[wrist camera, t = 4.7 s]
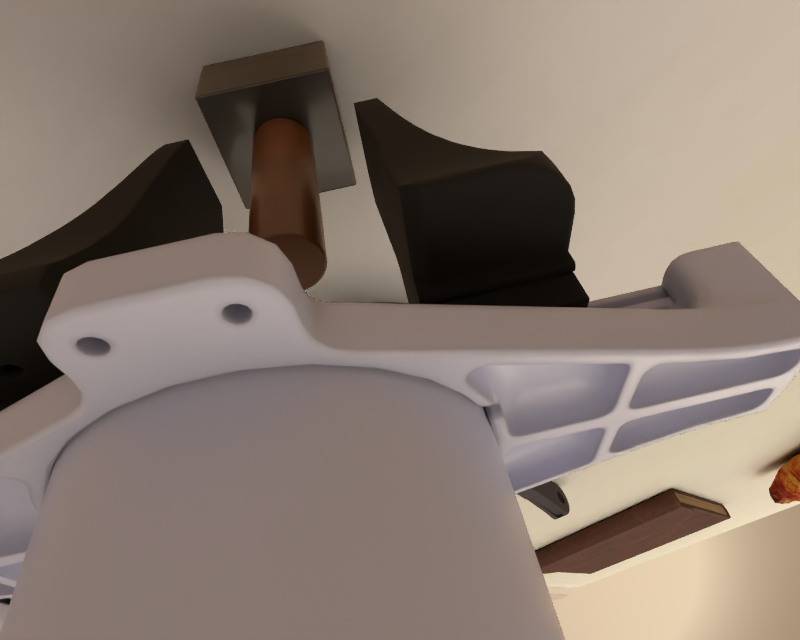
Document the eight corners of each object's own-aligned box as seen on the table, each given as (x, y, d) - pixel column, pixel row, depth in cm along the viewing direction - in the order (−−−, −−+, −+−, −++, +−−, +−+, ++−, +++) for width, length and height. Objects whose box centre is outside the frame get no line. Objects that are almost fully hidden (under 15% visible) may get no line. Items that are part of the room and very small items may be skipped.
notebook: (723, 504, 58) (734, 521, 56) (586, 561, 67) (593, 576, 66) (671, 488, 49) (682, 507, 48) (523, 556, 58) (528, 573, 57)
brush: (248, 174, 16) (239, 335, 11) (201, 66, 13) (164, 216, 8) (349, 152, 16) (382, 302, 11) (323, 39, 13) (351, 175, 9)
